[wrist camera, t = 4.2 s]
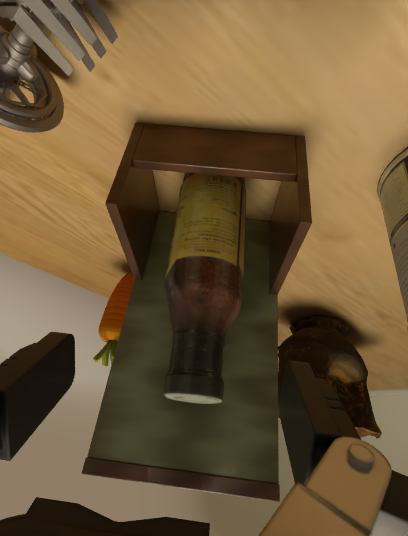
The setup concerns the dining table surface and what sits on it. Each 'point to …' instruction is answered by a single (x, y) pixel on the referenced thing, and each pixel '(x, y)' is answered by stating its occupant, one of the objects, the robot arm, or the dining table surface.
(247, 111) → the dining table surface
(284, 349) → the pottery vessel
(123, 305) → the carrot
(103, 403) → the bottle rack
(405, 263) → the coffee can
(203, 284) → the sauce bottle
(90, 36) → the spaceship
